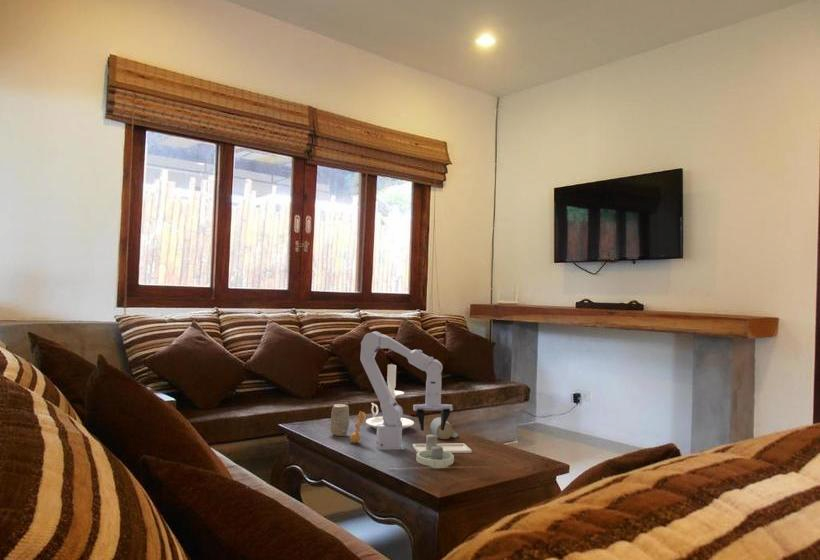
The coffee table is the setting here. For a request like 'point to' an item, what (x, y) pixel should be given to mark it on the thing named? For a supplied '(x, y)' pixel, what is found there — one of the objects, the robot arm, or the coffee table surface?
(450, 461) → the celadon bowl
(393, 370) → the candlestick
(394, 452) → the coffee table surface
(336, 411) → the carving
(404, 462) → the coffee table surface
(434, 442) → the pebble
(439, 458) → the pebble
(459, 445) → the parts tray
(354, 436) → the figurine
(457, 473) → the coffee table surface
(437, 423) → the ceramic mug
